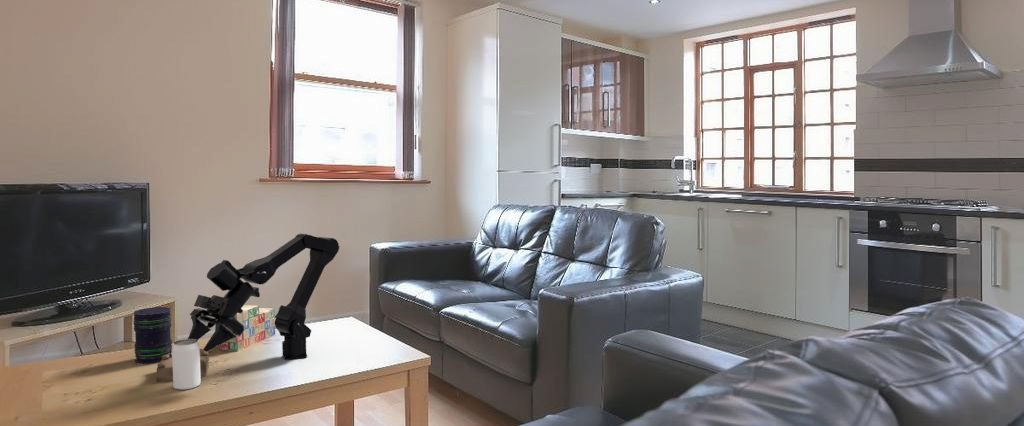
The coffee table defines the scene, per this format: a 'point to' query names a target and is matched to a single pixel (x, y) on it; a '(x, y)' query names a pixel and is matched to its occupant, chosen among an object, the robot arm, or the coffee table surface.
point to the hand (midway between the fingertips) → (195, 348)
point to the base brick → (167, 367)
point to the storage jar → (152, 334)
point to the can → (186, 364)
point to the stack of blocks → (252, 327)
